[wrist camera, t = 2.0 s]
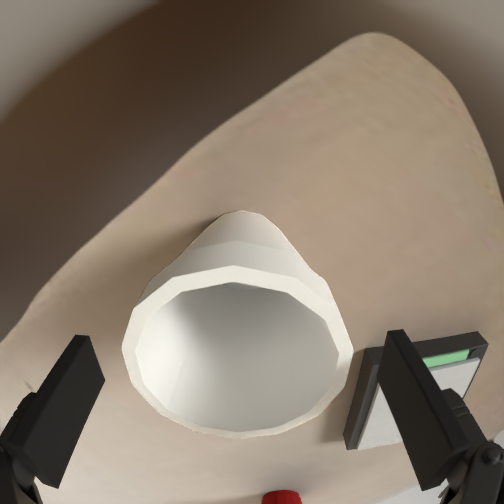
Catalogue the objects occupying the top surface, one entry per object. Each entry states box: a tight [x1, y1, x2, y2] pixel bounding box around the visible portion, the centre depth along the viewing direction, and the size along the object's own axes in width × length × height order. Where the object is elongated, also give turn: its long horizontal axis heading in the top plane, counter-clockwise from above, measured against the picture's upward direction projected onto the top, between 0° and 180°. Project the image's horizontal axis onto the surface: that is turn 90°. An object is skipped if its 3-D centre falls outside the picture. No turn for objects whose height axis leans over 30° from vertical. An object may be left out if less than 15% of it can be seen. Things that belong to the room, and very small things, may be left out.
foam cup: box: [121, 210, 354, 439], centre depth 18 cm, size 10×9×13 cm
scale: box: [343, 331, 489, 451], centre depth 29 cm, size 14×14×3 cm
